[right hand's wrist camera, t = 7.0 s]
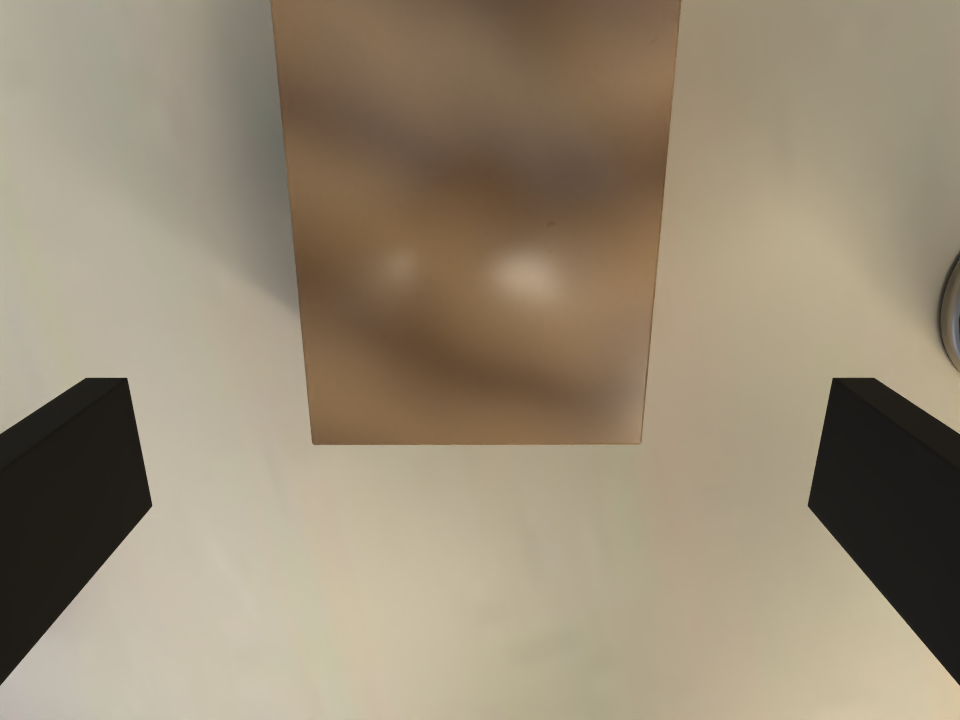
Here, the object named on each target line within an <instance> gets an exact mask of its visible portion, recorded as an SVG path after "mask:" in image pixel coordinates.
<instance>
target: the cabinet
mask: <svg viewBox="0 0 960 720" xmlns="http://www.w3.org/2000/svg"><path fill="white" fill-rule="evenodd" d="M270 1H271V11H272V22H273V32H274V43H275V54H276V64H277V75H278V86H279V96H280V107H281V117H282V128H283V139H284V149H285V160H286V171H287V181H288V192H289V202H290V213H291V224H292V234H293V245H294V256H295V266H296V277H297V287H298V298H299V309H300V319H301V330H302V341H303V351H304V362H305V372H306V383H307V394H308V404H309V415H310V426H311V436H312V443H313V444H314V445H572V444H641V440H642V429H643V418H644V407H645V396H646V385H647V374H648V363H649V352H650V341H651V330H652V319H653V308H654V297H655V285H656V274H657V263H658V252H659V241H660V230H661V219H662V208H663V197H664V186H665V175H666V164H667V153H668V142H669V131H670V120H671V108H672V97H673V86H674V75H675V64H676V53H677V42H678V31H679V20H680V9H681V0H270Z"/></svg>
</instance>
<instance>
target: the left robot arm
mask: <svg viewBox="0 0 960 720" xmlns="http://www.w3.org/2000/svg"><path fill="white" fill-rule="evenodd" d="M941 332H942V338H943V342H944V346H945V349H946V351H947V353H948V356H949V358H950V359H951V361H952V363H953V364H954V366H955V367H956V368H957V369H958V371H959V372H960V259H959V261H958V262H957V264H956V266H955V268H954V270H953V272H952V274H951V276H950V279H949V281H948V284H947V287H946V290H945V293H944V297H943V301H942V308H941Z"/></svg>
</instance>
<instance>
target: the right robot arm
mask: <svg viewBox="0 0 960 720" xmlns="http://www.w3.org/2000/svg"><path fill="white" fill-rule="evenodd" d="M151 507H152V502H151V496H150V491H149V486H148V481H147V476H146V471H145V466H144V461H143V456H142V451H141V446H140V441H139V435H138V430H137V425H136V420H135V415H134V410H133V405H132V400H131V395H130V390H129V385H128V380H127V378H85V379H84V380H82V381H81V382H79V383H77V384H76V385H74V386H73V387H71V388H70V389H68V390H67V391H65V392H64V393H62V394H61V395H59V396H58V397H56V398H55V399H53V400H52V401H50V402H49V403H47V404H46V405H44V406H42V407H41V408H39V409H38V410H36V411H35V412H33V413H32V414H30V415H29V416H27V417H26V418H24V419H23V420H21V421H20V422H18V423H17V424H15V425H14V426H12V427H11V428H9V429H7V430H6V431H4V432H3V433H1V434H0V685H1V684H2V683H3V682H4V681H5V679H6V678H7V677H8V676H9V675H10V673H11V672H12V671H13V670H14V669H15V668H16V666H17V665H18V664H19V663H20V662H21V660H22V659H23V658H24V657H25V656H26V655H27V653H28V652H29V651H30V650H31V649H32V647H33V646H34V645H35V644H36V643H37V642H38V640H39V639H40V638H41V637H42V636H43V634H44V633H45V632H46V631H47V630H48V629H49V627H50V626H51V625H52V624H53V623H54V622H55V620H56V619H57V618H58V617H59V616H60V614H61V613H62V612H63V611H64V610H65V609H66V607H67V606H68V605H69V604H70V603H71V601H72V600H73V599H74V598H75V597H76V596H77V594H78V593H79V592H80V591H81V590H82V588H83V587H84V586H85V585H86V584H87V583H88V581H89V580H90V579H91V578H92V577H93V575H94V574H95V573H96V572H97V571H98V570H99V568H100V567H101V566H102V565H103V564H104V562H105V561H106V560H107V559H108V558H109V557H110V555H111V554H112V553H113V552H114V551H115V549H116V548H117V547H118V546H119V545H120V544H121V542H122V541H123V540H124V539H125V538H126V536H127V535H128V534H129V533H130V532H131V531H132V529H133V528H134V527H135V526H136V525H137V523H138V522H139V521H140V520H141V519H142V518H143V516H144V515H145V514H146V513H147V512H148V510H149V509H150V508H151ZM808 507H809V508H810V509H811V510H812V512H813V513H814V514H815V515H816V516H817V518H818V519H819V520H820V521H821V522H822V523H823V525H824V526H825V527H826V528H827V529H828V531H829V532H830V533H831V534H832V535H833V536H834V538H835V539H836V540H837V541H838V542H839V544H840V545H841V546H842V547H843V548H844V549H845V551H846V552H847V553H848V554H849V555H850V557H851V558H852V559H853V560H854V561H855V562H856V564H857V565H858V566H859V567H860V568H861V570H862V571H863V572H864V573H865V574H866V575H867V577H868V578H869V579H870V580H871V581H872V583H873V584H874V585H875V586H876V587H877V588H878V590H879V591H880V592H881V593H882V594H883V596H884V597H885V598H886V599H887V600H888V601H889V603H890V604H891V605H892V606H893V607H894V609H895V610H896V611H897V612H898V613H899V614H900V616H901V617H902V618H903V619H904V620H905V622H906V623H907V624H908V625H909V626H910V627H911V629H912V630H913V631H914V632H915V633H916V634H917V636H918V637H919V638H920V639H921V640H922V642H923V643H924V644H925V645H926V646H927V647H928V649H929V650H930V651H931V652H932V653H933V655H934V656H935V657H936V658H937V659H938V660H939V662H940V663H941V664H942V665H943V666H944V668H945V669H946V670H947V671H948V672H949V673H950V675H951V676H952V677H953V678H954V679H955V681H956V682H957V683H958V684H959V685H960V434H959V433H957V432H956V431H954V430H953V429H951V428H949V427H948V426H946V425H945V424H943V423H942V422H940V421H939V420H937V419H936V418H934V417H933V416H931V415H930V414H928V413H927V412H925V411H924V410H922V409H921V408H919V407H918V406H916V405H914V404H913V403H911V402H910V401H908V400H907V399H905V398H904V397H902V396H901V395H899V394H898V393H896V392H895V391H893V390H892V389H890V388H889V387H887V386H886V385H884V384H883V383H881V382H879V381H878V380H876V379H875V378H833V380H832V385H831V390H830V395H829V400H828V405H827V410H826V415H825V420H824V425H823V430H822V435H821V441H820V446H819V451H818V456H817V461H816V466H815V471H814V476H813V481H812V486H811V491H810V496H809V502H808Z"/></svg>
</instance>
